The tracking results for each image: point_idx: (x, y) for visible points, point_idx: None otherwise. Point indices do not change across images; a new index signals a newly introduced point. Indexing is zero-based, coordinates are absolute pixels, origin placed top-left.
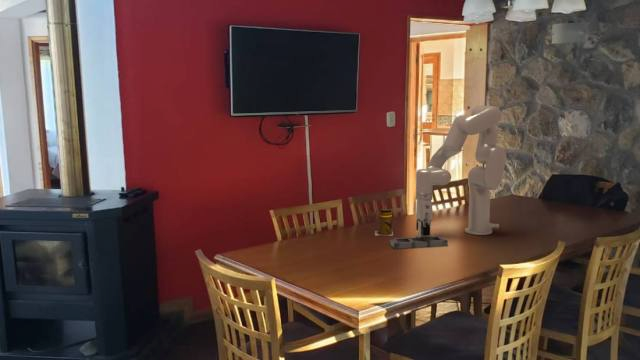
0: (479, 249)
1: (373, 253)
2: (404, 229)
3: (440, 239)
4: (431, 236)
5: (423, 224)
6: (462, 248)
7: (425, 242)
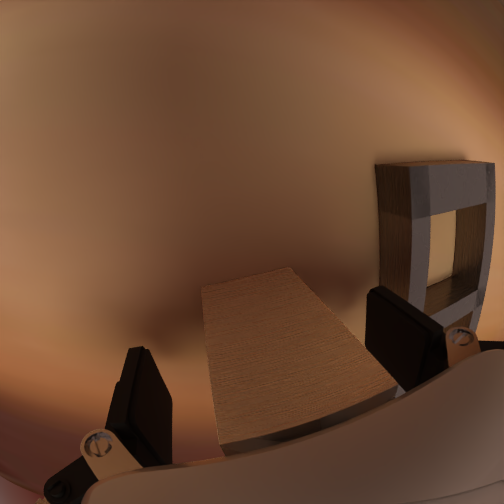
0: (479, 32)
1: None
2: (24, 402)
3: (471, 204)
4: (413, 271)
5: None
6: (485, 95)
7: (477, 311)
